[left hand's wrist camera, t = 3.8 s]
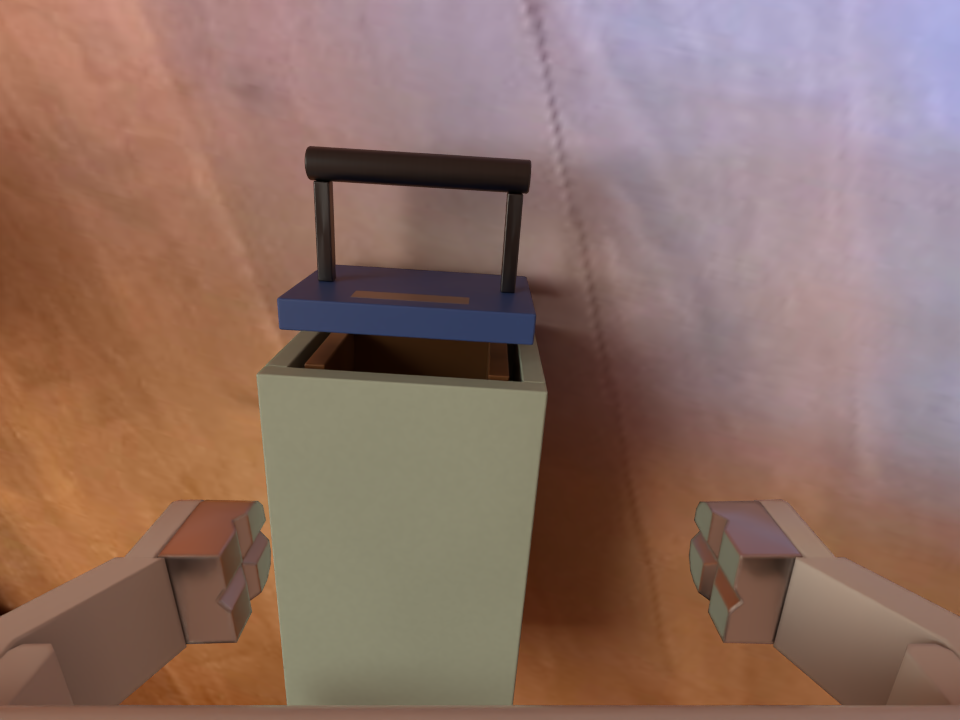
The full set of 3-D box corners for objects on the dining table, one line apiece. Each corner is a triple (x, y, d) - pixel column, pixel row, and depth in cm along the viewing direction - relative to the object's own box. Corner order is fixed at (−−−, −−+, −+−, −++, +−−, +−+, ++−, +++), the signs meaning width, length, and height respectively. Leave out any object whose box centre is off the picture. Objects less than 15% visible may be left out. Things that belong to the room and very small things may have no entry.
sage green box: (319, 311, 28) (255, 373, 20) (533, 324, 28) (548, 392, 20) (333, 613, 35) (289, 743, 27) (504, 624, 35) (507, 756, 27)
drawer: (319, 145, 24) (264, 145, 18) (537, 159, 24) (551, 163, 18) (337, 577, 32) (304, 670, 27) (498, 586, 32) (500, 682, 27)
